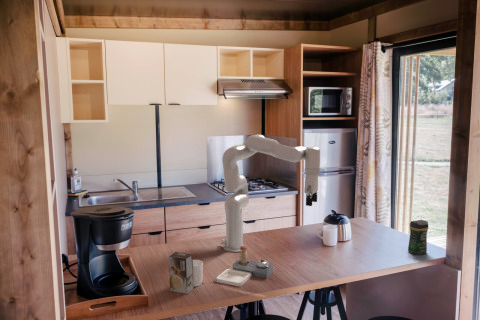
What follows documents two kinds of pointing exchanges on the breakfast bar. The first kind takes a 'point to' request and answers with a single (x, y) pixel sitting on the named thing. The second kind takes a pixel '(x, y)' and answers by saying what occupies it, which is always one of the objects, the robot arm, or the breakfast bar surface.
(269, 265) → the block
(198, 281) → the white cup
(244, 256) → the lock pin
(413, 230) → the coffee jar
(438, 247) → the breakfast bar surface
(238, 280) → the tray
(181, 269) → the coffee box
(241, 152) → the robot arm
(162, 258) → the breakfast bar surface
